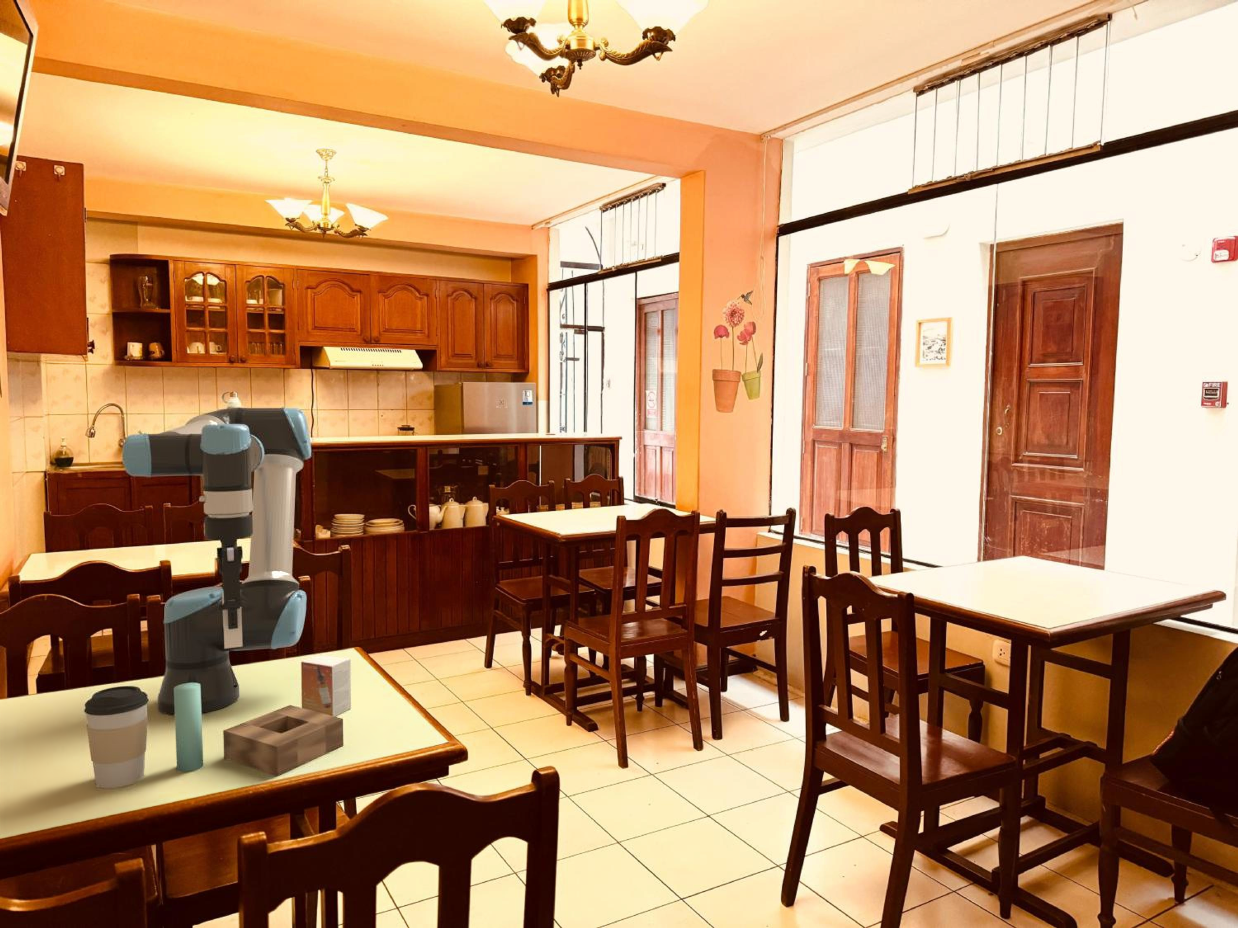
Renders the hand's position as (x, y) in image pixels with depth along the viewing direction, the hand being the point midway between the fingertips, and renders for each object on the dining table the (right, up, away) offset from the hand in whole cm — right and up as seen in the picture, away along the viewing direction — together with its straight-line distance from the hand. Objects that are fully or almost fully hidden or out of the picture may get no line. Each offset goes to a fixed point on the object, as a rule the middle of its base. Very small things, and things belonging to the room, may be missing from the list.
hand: (232, 636), depth 142 cm
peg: (-6, -22, -2) cm, 23 cm away
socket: (+7, -21, +4) cm, 23 cm away
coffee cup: (-16, -22, -6) cm, 28 cm away
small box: (+8, -20, +24) cm, 32 cm away
